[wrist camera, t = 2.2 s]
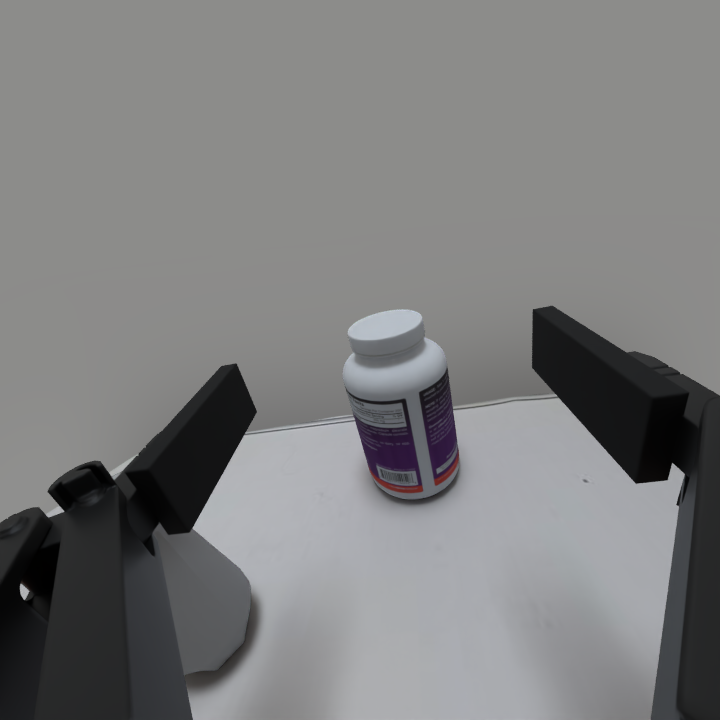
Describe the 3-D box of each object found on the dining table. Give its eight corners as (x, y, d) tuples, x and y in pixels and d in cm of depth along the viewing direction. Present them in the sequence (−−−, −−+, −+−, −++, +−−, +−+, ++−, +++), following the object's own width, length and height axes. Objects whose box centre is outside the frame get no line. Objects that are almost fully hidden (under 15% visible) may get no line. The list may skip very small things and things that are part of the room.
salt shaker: (278, 626, 21) (188, 477, 16) (190, 722, 18) (36, 577, 12) (239, 569, 25) (157, 436, 20) (161, 639, 22) (37, 502, 16)
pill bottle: (436, 429, 34) (415, 296, 28) (479, 485, 27) (463, 322, 21) (362, 455, 33) (324, 322, 27) (386, 520, 26) (341, 360, 20)
